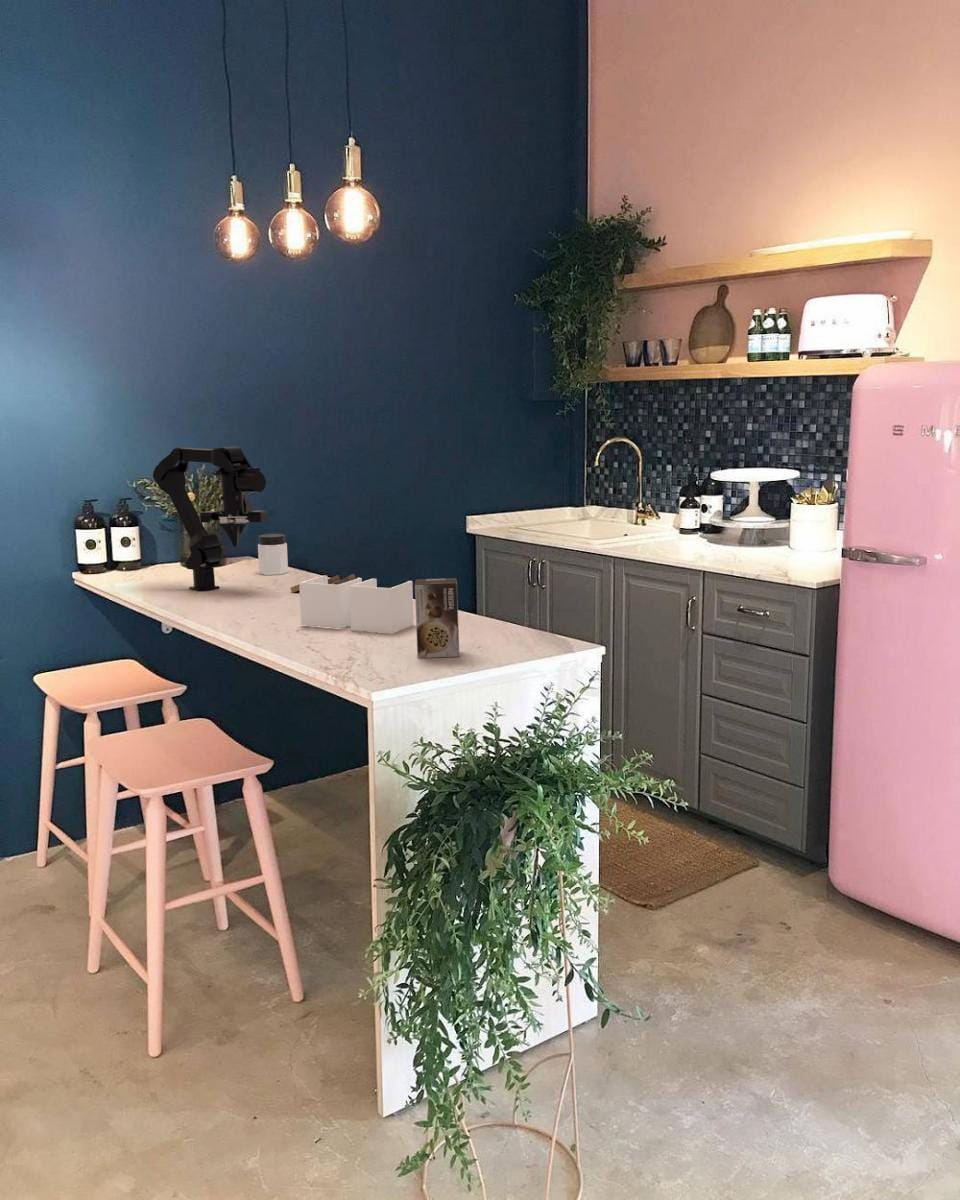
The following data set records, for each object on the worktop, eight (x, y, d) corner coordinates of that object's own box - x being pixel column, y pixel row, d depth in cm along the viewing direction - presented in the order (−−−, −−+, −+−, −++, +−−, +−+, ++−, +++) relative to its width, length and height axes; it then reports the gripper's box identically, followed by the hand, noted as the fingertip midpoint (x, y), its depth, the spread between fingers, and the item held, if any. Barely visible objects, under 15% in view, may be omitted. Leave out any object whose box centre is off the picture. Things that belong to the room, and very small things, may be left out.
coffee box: (458, 650, 244) (457, 577, 241) (459, 657, 238) (458, 582, 235) (417, 651, 244) (415, 578, 241) (416, 658, 237) (414, 583, 234)
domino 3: (321, 589, 314) (347, 576, 311) (328, 585, 319) (353, 573, 316) (324, 594, 314) (349, 581, 311) (330, 590, 319) (356, 578, 316)
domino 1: (289, 587, 317) (315, 578, 314) (297, 584, 322) (323, 575, 319) (291, 592, 317) (317, 583, 314) (299, 590, 322) (325, 580, 319)
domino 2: (305, 588, 315) (331, 577, 312) (312, 585, 320) (338, 574, 317) (307, 594, 315) (333, 582, 312) (314, 591, 320) (340, 580, 317)
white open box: (301, 627, 272) (299, 582, 270) (325, 618, 282) (323, 575, 280) (391, 634, 262) (390, 588, 260) (413, 625, 272) (412, 581, 270)
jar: (269, 570, 358) (267, 533, 356) (292, 571, 356) (290, 534, 353) (254, 574, 350) (252, 536, 348) (277, 576, 347) (275, 537, 345)
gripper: (274, 489, 320) (278, 543, 323) (215, 489, 324) (219, 543, 327) (258, 492, 309) (262, 548, 312) (196, 493, 314) (200, 548, 316)
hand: (236, 546), depth 317 cm, fingers closed
